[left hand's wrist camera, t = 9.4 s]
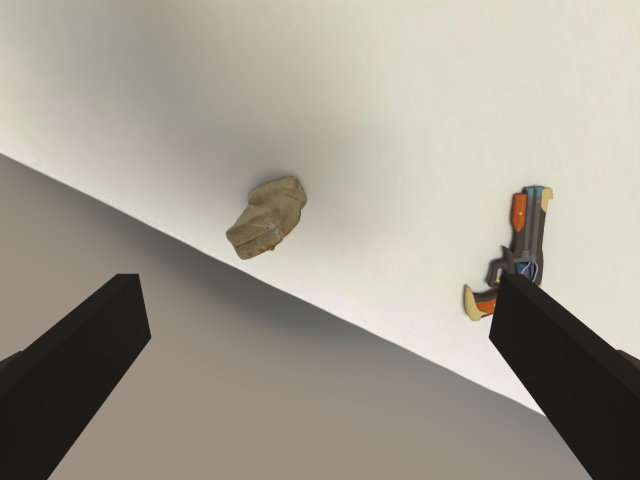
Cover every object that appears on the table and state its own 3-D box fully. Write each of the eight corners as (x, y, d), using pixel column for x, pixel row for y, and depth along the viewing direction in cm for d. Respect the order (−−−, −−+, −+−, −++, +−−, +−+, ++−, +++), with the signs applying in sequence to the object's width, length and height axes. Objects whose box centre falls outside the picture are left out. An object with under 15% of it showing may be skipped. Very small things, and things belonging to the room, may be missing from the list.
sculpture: (244, 185, 45) (210, 219, 31) (295, 164, 44) (284, 190, 30) (263, 225, 47) (239, 274, 33) (313, 205, 46) (310, 248, 32)
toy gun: (467, 325, 50) (543, 324, 49) (473, 192, 45) (558, 187, 43) (462, 315, 53) (534, 314, 51) (467, 189, 47) (547, 184, 46)
